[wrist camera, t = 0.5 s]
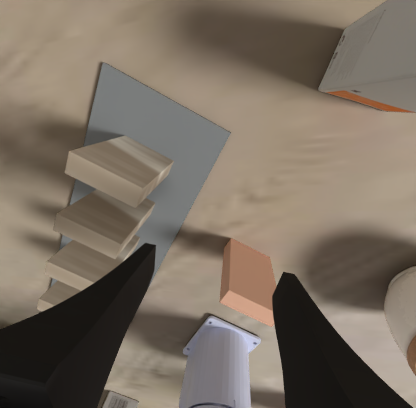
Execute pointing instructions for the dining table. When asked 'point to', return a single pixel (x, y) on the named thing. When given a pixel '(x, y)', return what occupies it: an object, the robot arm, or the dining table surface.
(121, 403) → the coffee box
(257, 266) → the terracotta domino
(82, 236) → the domino
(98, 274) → the domino
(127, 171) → the domino
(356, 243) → the dining table surface
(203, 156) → the slate mat
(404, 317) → the lidded jar
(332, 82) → the skincare box
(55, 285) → the domino
